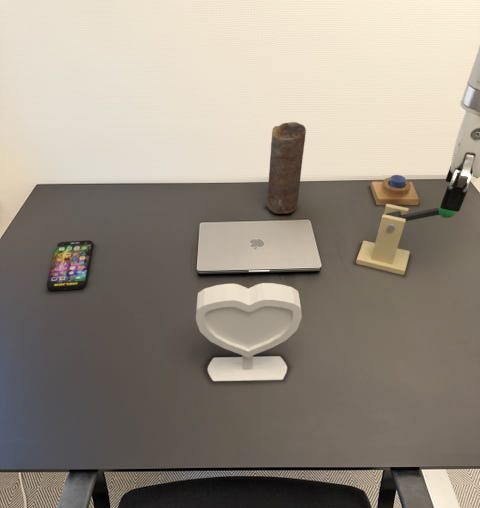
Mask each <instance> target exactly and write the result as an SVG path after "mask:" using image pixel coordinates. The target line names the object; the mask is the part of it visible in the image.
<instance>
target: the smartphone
mask: <svg viewBox="0 0 480 508" xmlns="http://www.w3.org/2000/svg"><path fill="white" fill-rule="evenodd" d="M93 249H94V243H93V241H92V240H71V241H61V242H59V243H57V245H56V247H55V251H54V255H53V257H52V258H53V259H52V262H51V265H50V269H49V274H48V277H47V281H46V288H47V290H48V291H51V292H56V291H69V290H82V289H83V288H85V287H86V285H87V282H88V278H89V272H90V271H89V270H90V267H91V266H90V265H91V260H92V254H93Z"/></svg>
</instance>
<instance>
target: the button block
mask: <svg viewBox="0 0 480 508" xmlns="http://www.w3.org/2000/svg"><path fill="white" fill-rule="evenodd" d="M390 178H391V176H389V177H386V178H384V179H383V181H371V184H370V190H371V193H372V196H373V198H374V201H375V204H376V206H386V204H391V205H396V206H418V205H419V202H420V197H419V195H418V193H417V191H416V189H415V186H414V184H413V182H412V181H409V180H408V179H406V181H405V185H404V187H403V188H394V187H391V186H390V185H389V182H390Z"/></svg>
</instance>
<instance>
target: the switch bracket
mask: <svg viewBox="0 0 480 508" xmlns="http://www.w3.org/2000/svg"><path fill="white" fill-rule="evenodd" d="M384 207H385V208H384V211H383V214H382V216H381V219H380V224H379V226H378V231H377V234H376V239H375V242H373V241H367V240H363V241H362V244H361V246H360V249H359V252H358V254H357V257H356V260H355V264H356V265H360V266H363V267H364V266H365V267H368V268H372V269H377V270H380V271H384V272H389V273H392V274H396V275H401V276H404V275H405V273H406V269H407V265H408V261H409V257H410V253H411V251H410V250H406V249H403V248H399V243H400V242H401V241H400V240H401V237H402V235H403V230H404V227H405V224H406V222H407V221H406V219H403V218H399V217H394V216H389V215H386V214H387V213H392V212H396V211H400V212H401V215H404V214H409V210H410V207H405V206H401V205H391V204H386V205H385V206H384Z"/></svg>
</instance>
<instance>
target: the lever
mask: <svg viewBox="0 0 480 508" xmlns="http://www.w3.org/2000/svg"><path fill="white" fill-rule="evenodd" d="M440 206H441V203H440V204H439V206H438V207H434V208H428V209H425V210H420V211H419V210H418V211H415V212H408V214H404V215H401V212H400V211H396V212H392V213H387V214H386V215H389V216H394V217H399V218H403V219H406V221H405V222H409V221H414V220H419V219H424V218H430V217H435V216H440V217H442V218H443V219H450V218H452V217H454V216H455V215H456V213H457V212H455V211H450V210H446V209H441V208H440Z"/></svg>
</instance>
